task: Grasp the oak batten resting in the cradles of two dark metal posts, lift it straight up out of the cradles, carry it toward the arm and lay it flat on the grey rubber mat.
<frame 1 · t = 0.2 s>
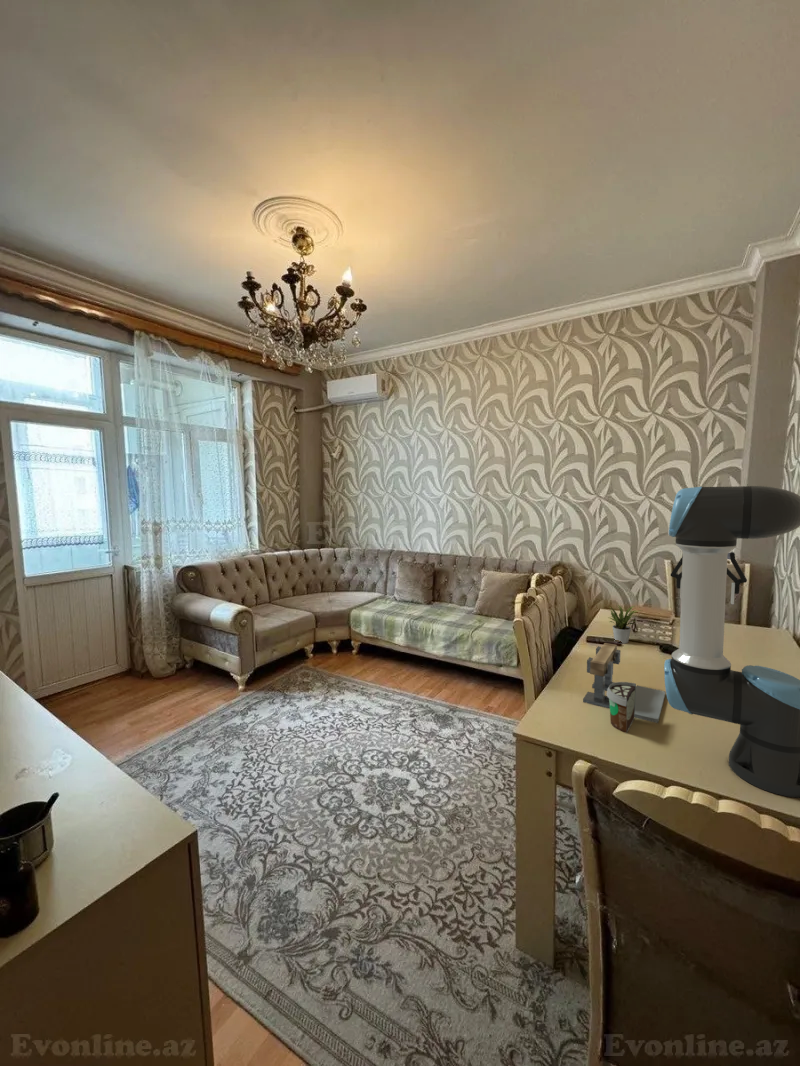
hand: (706, 600, 142), 28 cm above the table, fingers open, 13 cm apart
post near: (599, 701, 133), on the table
post far: (607, 687, 143), on the table
house plant: (624, 642, 186), on the table
food container: (618, 723, 121), on the table
mat: (646, 704, 131), on the table
rail: (604, 664, 137), point 10 cm above the table, touching post far, post near
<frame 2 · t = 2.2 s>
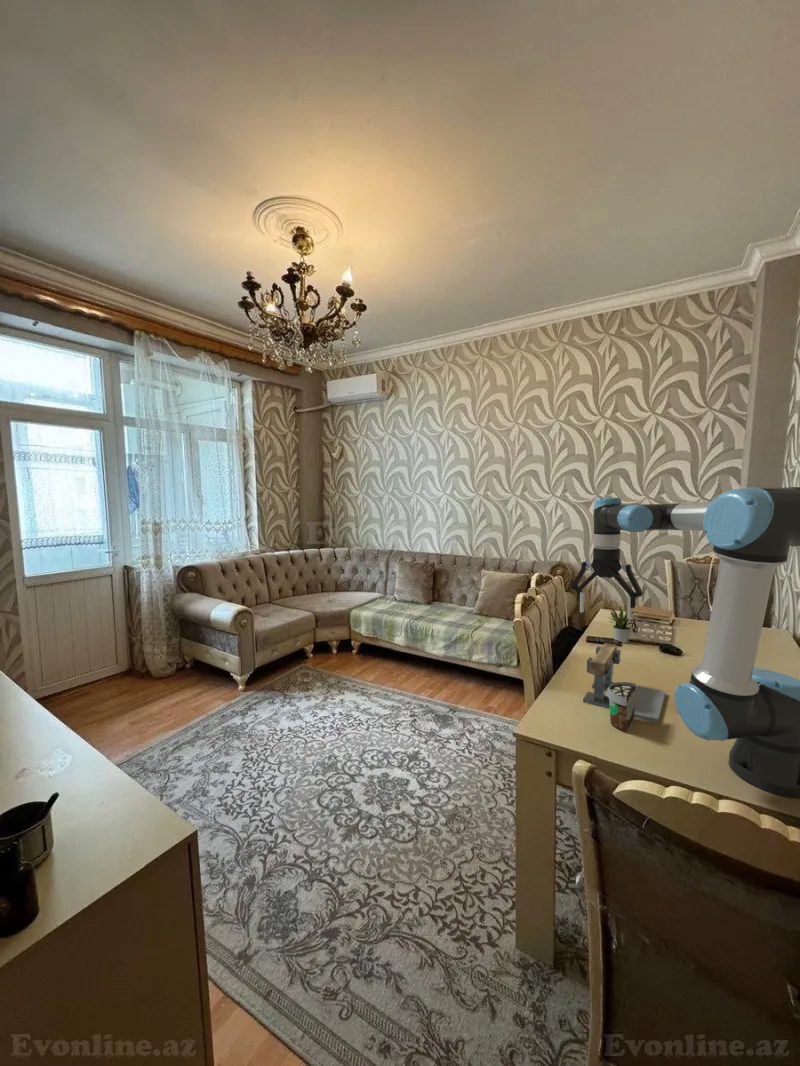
hand: (604, 614, 136), 26 cm above the table, fingers open, 13 cm apart
nothing on the table moved.
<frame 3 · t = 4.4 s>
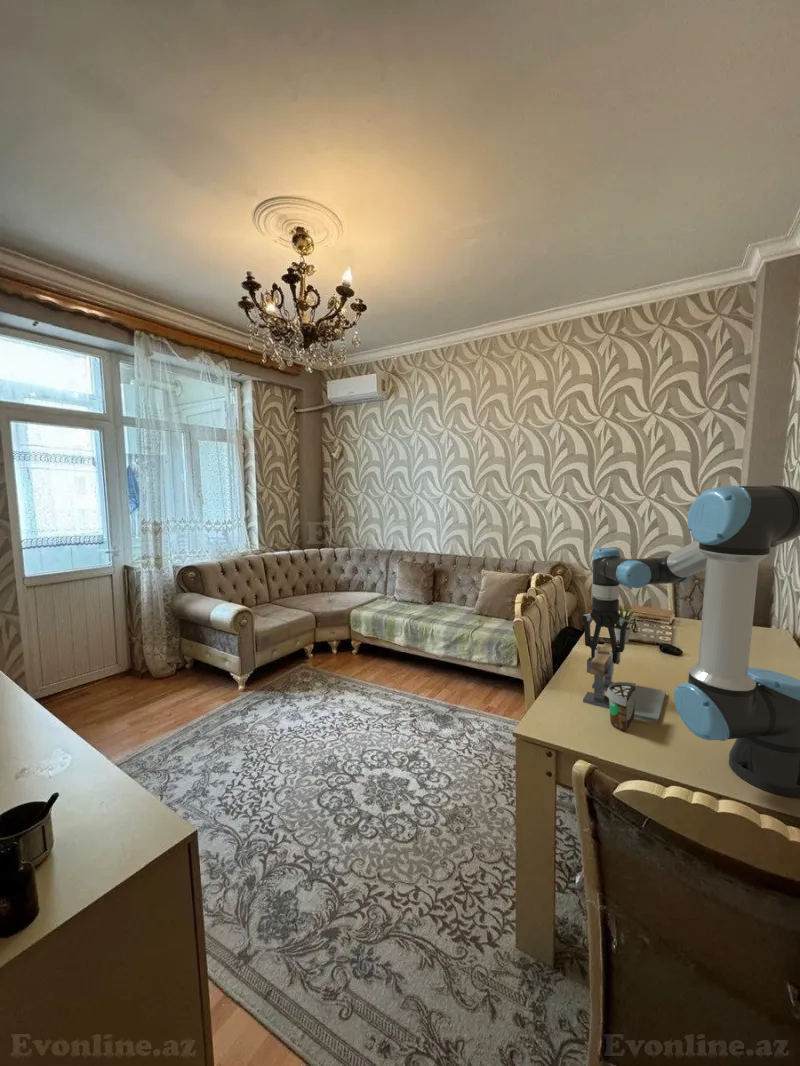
hand: (603, 670, 137), 8 cm above the table, fingers closed on rail, 4 cm apart
rail: (604, 664, 137), point 10 cm above the table, touching gripper, post far, post near
everything else where it was.
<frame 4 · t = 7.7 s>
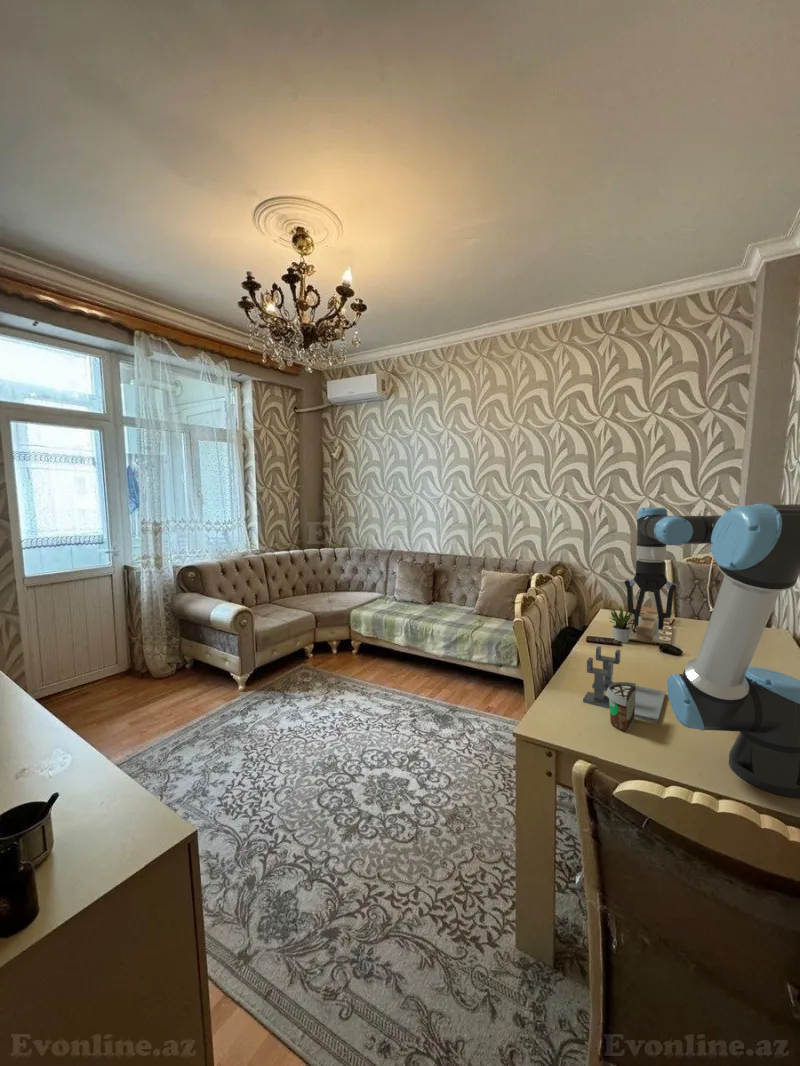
hand: (648, 637, 129), 21 cm above the table, fingers closed on rail, 4 cm apart
rail: (648, 631, 129), point 22 cm above the table, touching gripper
everything else where it was.
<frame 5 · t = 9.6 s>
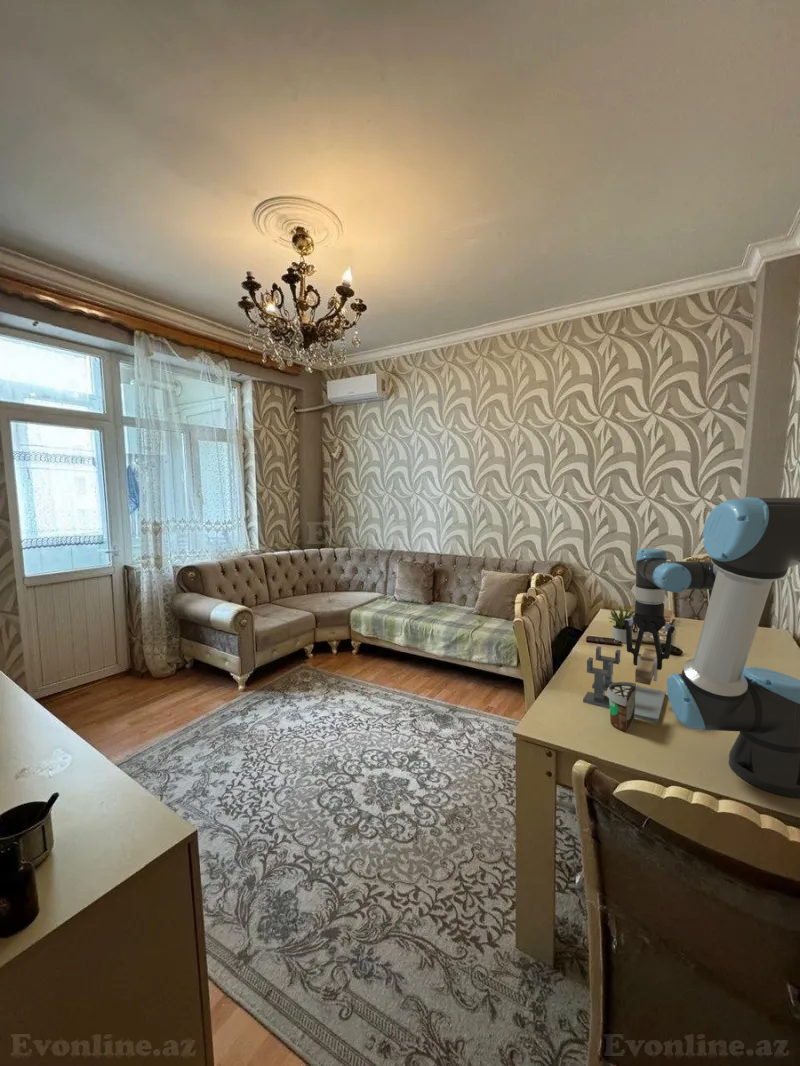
hand: (647, 677, 130), 8 cm above the table, fingers closed on rail, 4 cm apart
rail: (647, 671, 130), point 10 cm above the table, touching gripper
everything else where it was.
when the fingers open (2 cm above the table, at t = 11.1 s): rail drops 3 cm, resting on mat.
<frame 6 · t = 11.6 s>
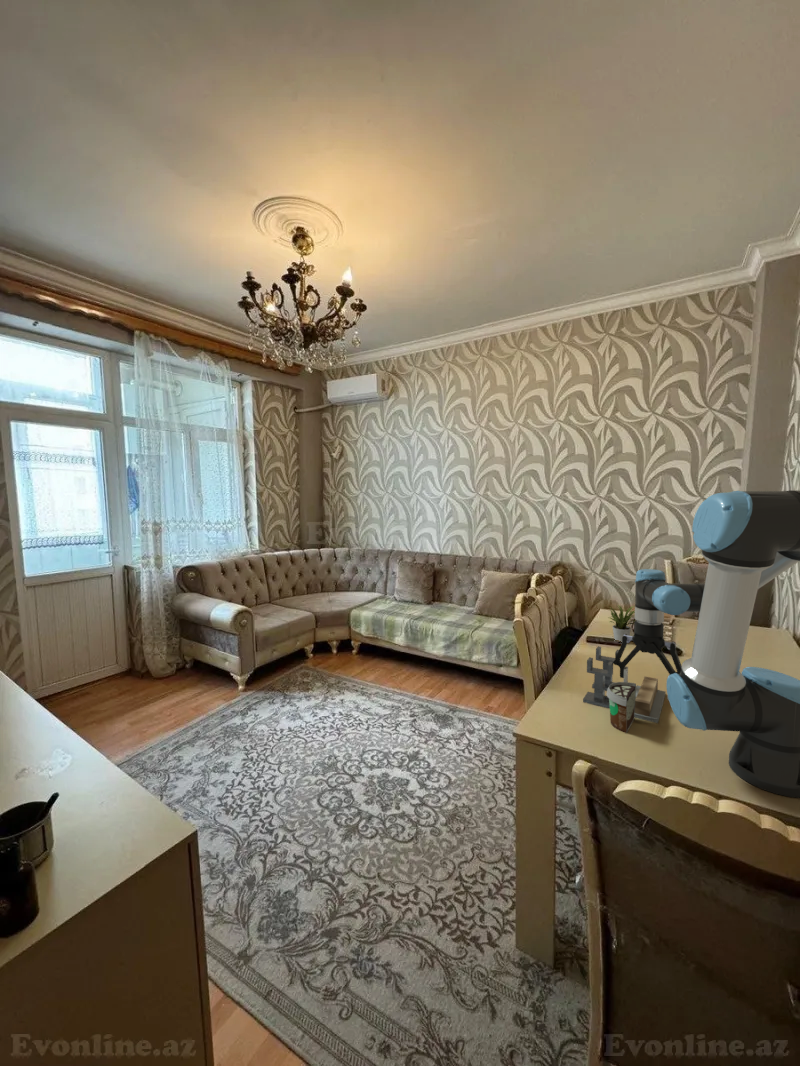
hand: (646, 693, 131), 3 cm above the table, fingers open, 11 cm apart
rail: (646, 701, 131), point 1 cm above the table, touching mat
everything else where it was.
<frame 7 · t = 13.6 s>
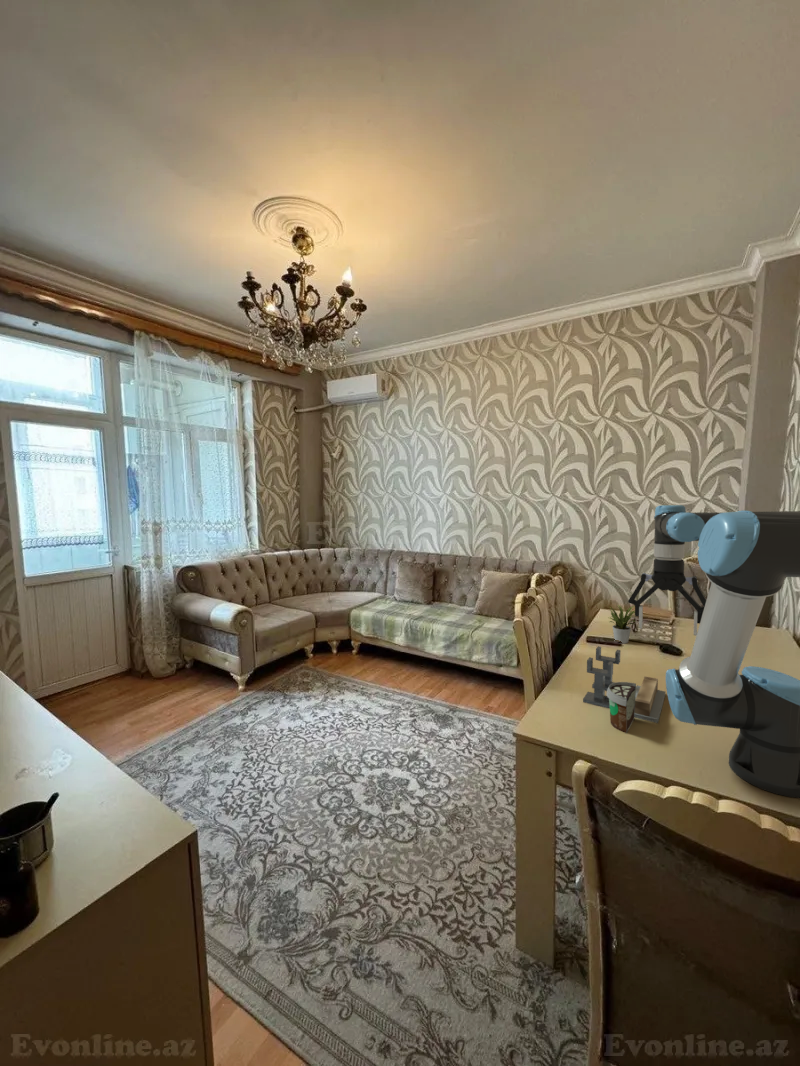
hand: (667, 630, 127), 23 cm above the table, fingers open, 13 cm apart
nothing on the table moved.
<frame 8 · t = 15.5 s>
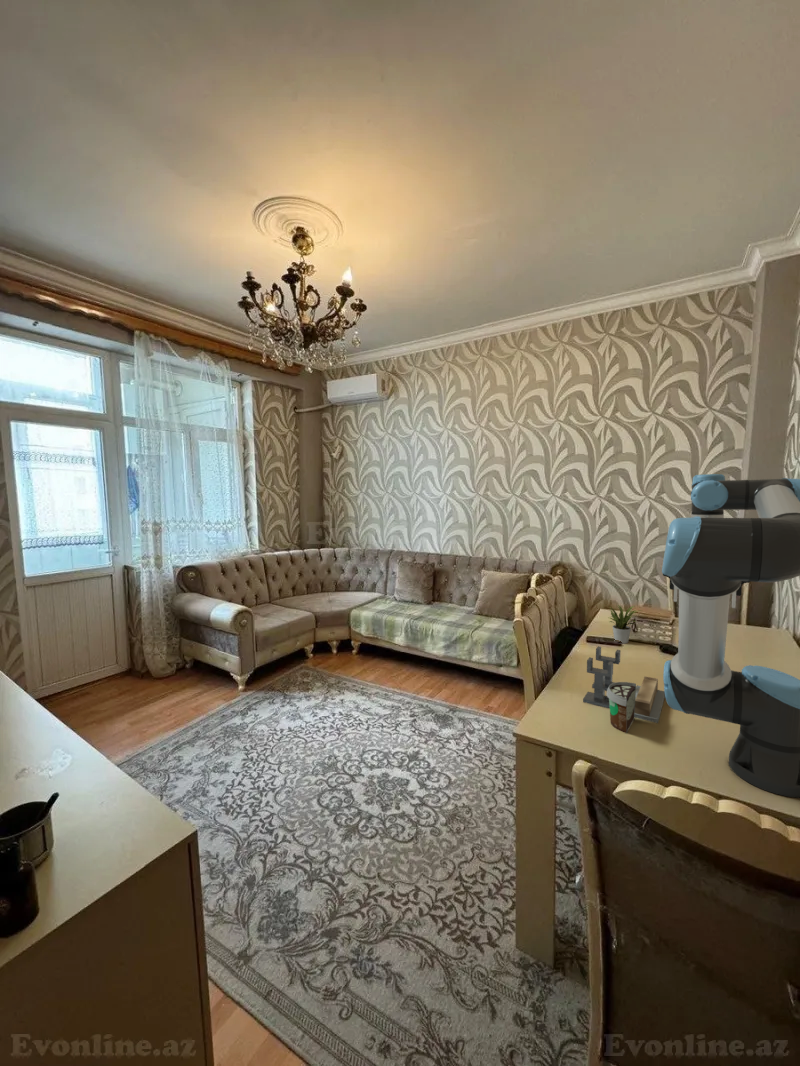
hand: (703, 603, 124), 32 cm above the table, fingers open, 13 cm apart
nothing on the table moved.
at the end: rail inside the target area on the mat (0.1 cm from its centre), point 1.0 cm above the mat's base; rail tilted 0°; the gripper is holding nothing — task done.
